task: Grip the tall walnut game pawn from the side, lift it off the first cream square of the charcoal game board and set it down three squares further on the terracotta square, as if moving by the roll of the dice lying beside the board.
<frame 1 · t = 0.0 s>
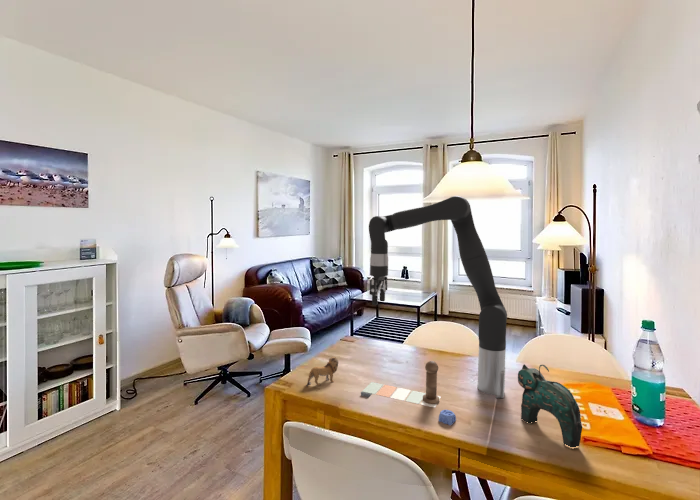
hand: (378, 302, 155), 29 cm above the table, tool pointing down, fingers open, 8 cm apart
decorative dice: (447, 425, 115), on the table
ceramic cat: (547, 432, 111), on the table
game board: (400, 397, 132), on the table
lion figurine: (323, 382, 145), on the table
pawn: (430, 400, 128), point 1 cm above the table, touching game board
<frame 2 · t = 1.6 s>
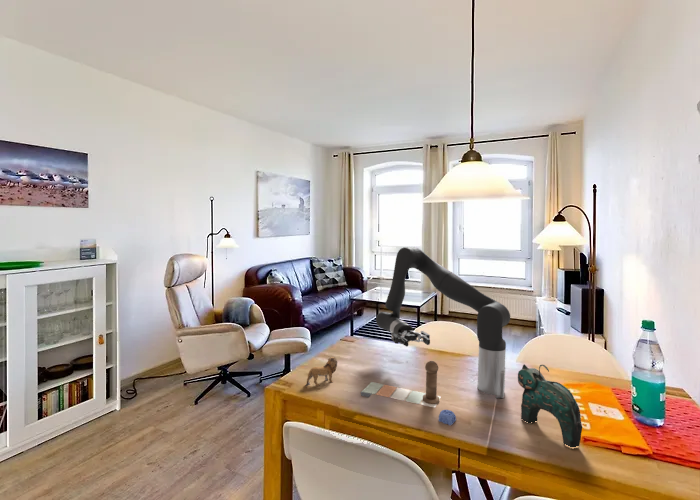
hand: (418, 343, 137), 18 cm above the table, tool horizontal, fingers open, 8 cm apart
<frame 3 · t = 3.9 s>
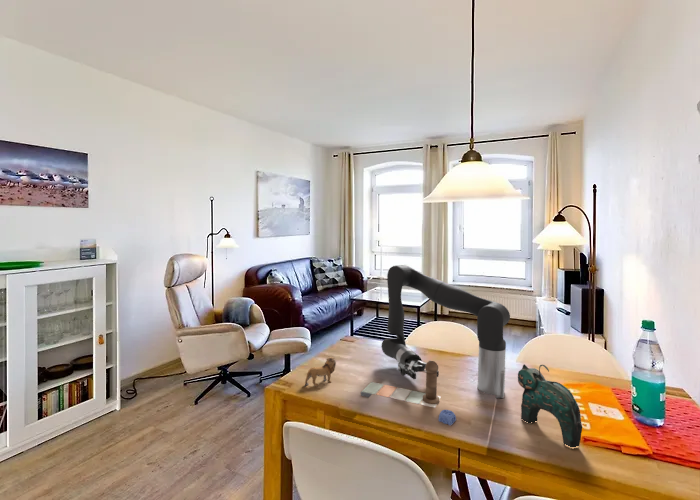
hand: (426, 375, 131), 9 cm above the table, tool horizontal, fingers open, 8 cm apart
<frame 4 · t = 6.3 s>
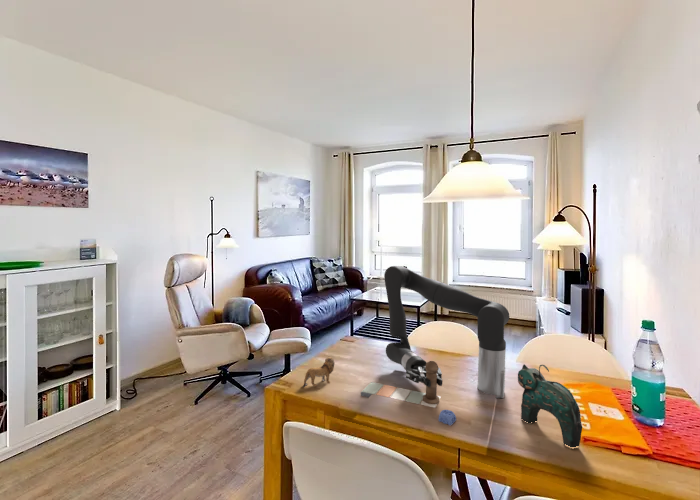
hand: (435, 383, 125), 8 cm above the table, tool horizontal, fingers closed on pawn, 3 cm apart
pawn: (430, 400, 128), point 1 cm above the table, touching game board, gripper
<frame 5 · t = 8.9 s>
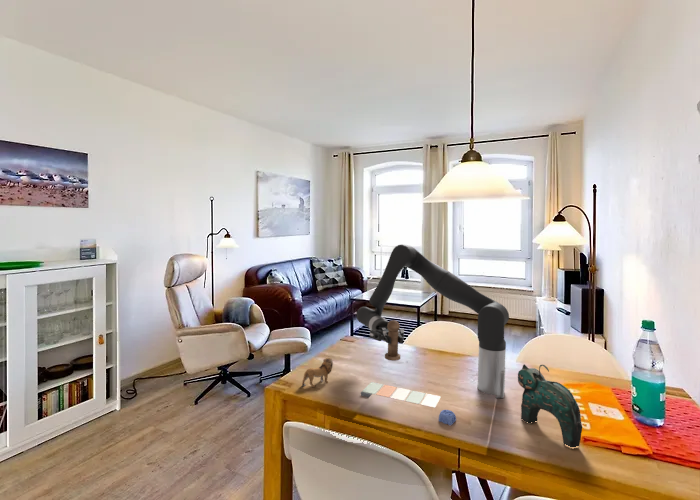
hand: (395, 340, 130), 21 cm above the table, tool horizontal, fingers closed on pawn, 3 cm apart
pawn: (392, 357, 133), point 14 cm above the table, touching gripper
when the fingers open (10 cm above the table, at t = 11.6 s): pawn drops 1 cm, resting on game board.
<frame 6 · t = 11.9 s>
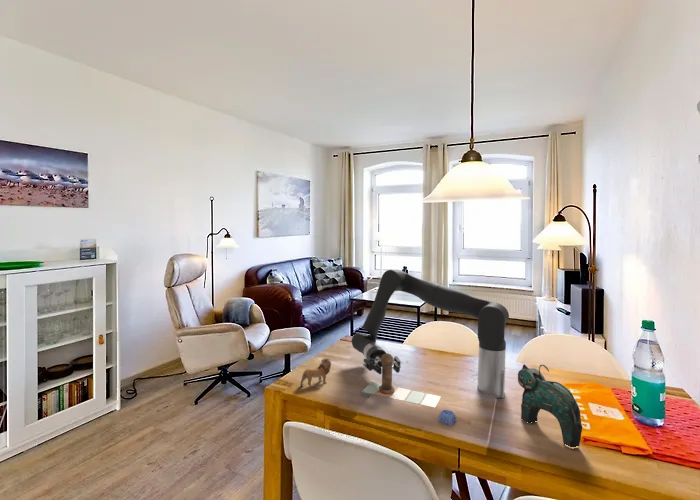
hand: (389, 370, 132), 10 cm above the table, tool horizontal, fingers open, 6 cm apart
pawn: (386, 390, 135), point 1 cm above the table, touching game board
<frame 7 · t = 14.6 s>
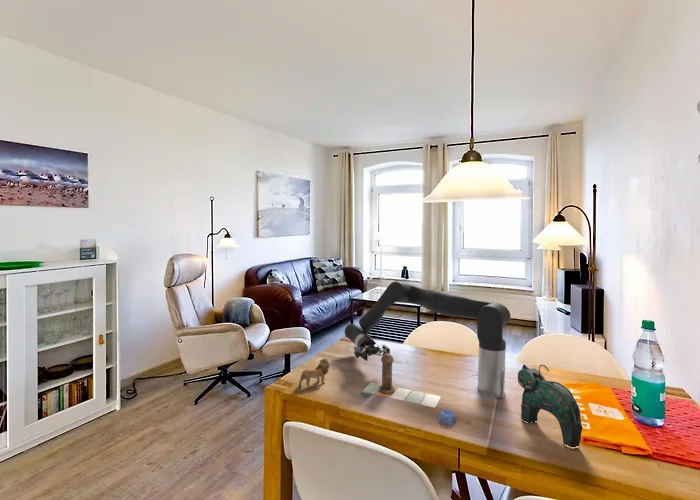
hand: (377, 357, 145), 10 cm above the table, tool horizontal, fingers open, 8 cm apart
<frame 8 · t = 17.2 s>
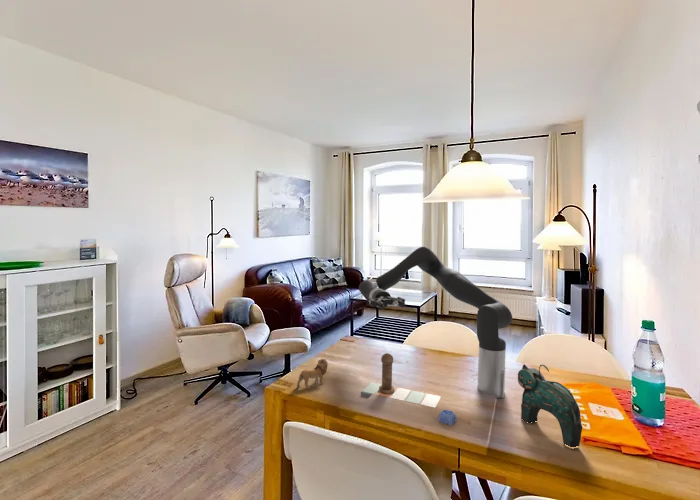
hand: (393, 305, 146), 30 cm above the table, tool horizontal, fingers open, 8 cm apart
at the end: pawn 0.0 cm from the target spot, point 1.4 cm above the table; pawn tilted 0°; the gripper is holding nothing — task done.
